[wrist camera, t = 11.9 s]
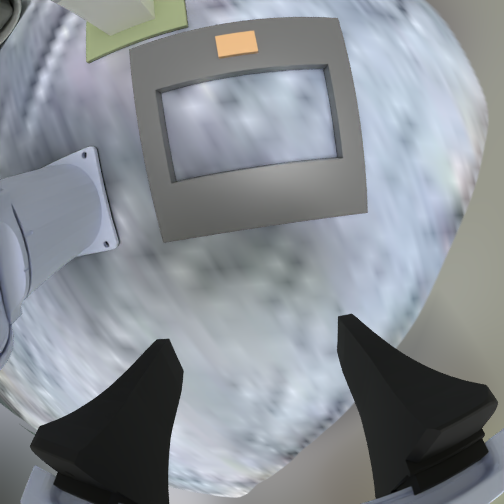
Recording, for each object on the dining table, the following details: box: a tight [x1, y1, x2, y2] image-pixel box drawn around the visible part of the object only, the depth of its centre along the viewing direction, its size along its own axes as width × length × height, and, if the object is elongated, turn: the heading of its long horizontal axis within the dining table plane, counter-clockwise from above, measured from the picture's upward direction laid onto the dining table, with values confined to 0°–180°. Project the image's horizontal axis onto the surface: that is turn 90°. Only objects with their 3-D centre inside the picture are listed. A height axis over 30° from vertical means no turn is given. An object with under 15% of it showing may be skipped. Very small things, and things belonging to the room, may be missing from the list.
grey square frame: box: [129, 17, 368, 243], centre depth 15 cm, size 14×14×2 cm
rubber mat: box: [86, 0, 188, 63], centre depth 12 cm, size 8×8×1 cm
